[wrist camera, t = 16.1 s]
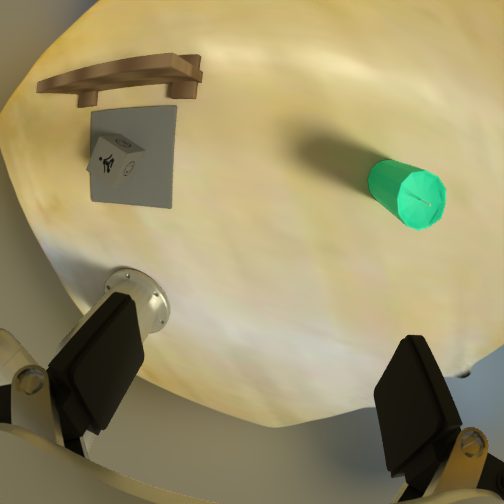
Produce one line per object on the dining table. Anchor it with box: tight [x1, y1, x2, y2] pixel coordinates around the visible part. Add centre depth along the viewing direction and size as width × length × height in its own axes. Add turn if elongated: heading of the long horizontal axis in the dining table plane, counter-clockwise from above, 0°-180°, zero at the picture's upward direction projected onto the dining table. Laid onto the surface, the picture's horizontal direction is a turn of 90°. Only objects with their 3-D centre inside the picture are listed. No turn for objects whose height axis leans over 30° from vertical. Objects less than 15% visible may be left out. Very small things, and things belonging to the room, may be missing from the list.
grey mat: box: [90, 106, 177, 209], centre depth 35 cm, size 14×14×1 cm
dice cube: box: [86, 134, 146, 188], centre depth 32 cm, size 5×5×5 cm
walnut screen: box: [36, 53, 203, 108], centre depth 26 cm, size 20×6×10 cm, turn 84°
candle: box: [368, 159, 446, 231], centre depth 27 cm, size 6×6×12 cm
